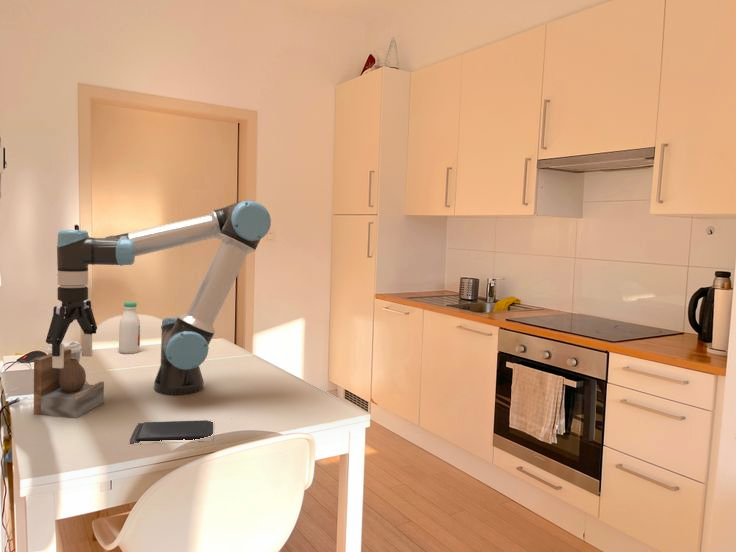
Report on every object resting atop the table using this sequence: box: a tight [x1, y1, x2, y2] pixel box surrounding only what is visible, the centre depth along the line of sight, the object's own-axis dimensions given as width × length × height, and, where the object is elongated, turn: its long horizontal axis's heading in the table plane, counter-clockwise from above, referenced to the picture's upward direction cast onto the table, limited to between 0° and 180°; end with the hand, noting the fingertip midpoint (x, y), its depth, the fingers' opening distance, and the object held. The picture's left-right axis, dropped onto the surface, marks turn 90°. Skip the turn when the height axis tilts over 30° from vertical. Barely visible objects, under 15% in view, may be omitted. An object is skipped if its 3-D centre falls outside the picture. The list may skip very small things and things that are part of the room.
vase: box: [58, 359, 87, 392], centre depth 159 cm, size 7×7×9 cm
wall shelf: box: [33, 349, 105, 419], centre depth 159 cm, size 12×14×15 cm
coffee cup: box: [46, 340, 82, 363], centre depth 173 cm, size 10×10×15 cm
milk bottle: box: [118, 301, 141, 354], centre depth 228 cm, size 8×8×20 cm
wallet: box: [129, 419, 213, 445], centre depth 146 cm, size 20×2×15 cm
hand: (73, 361), depth 159 cm, fingers open, 13 cm apart
